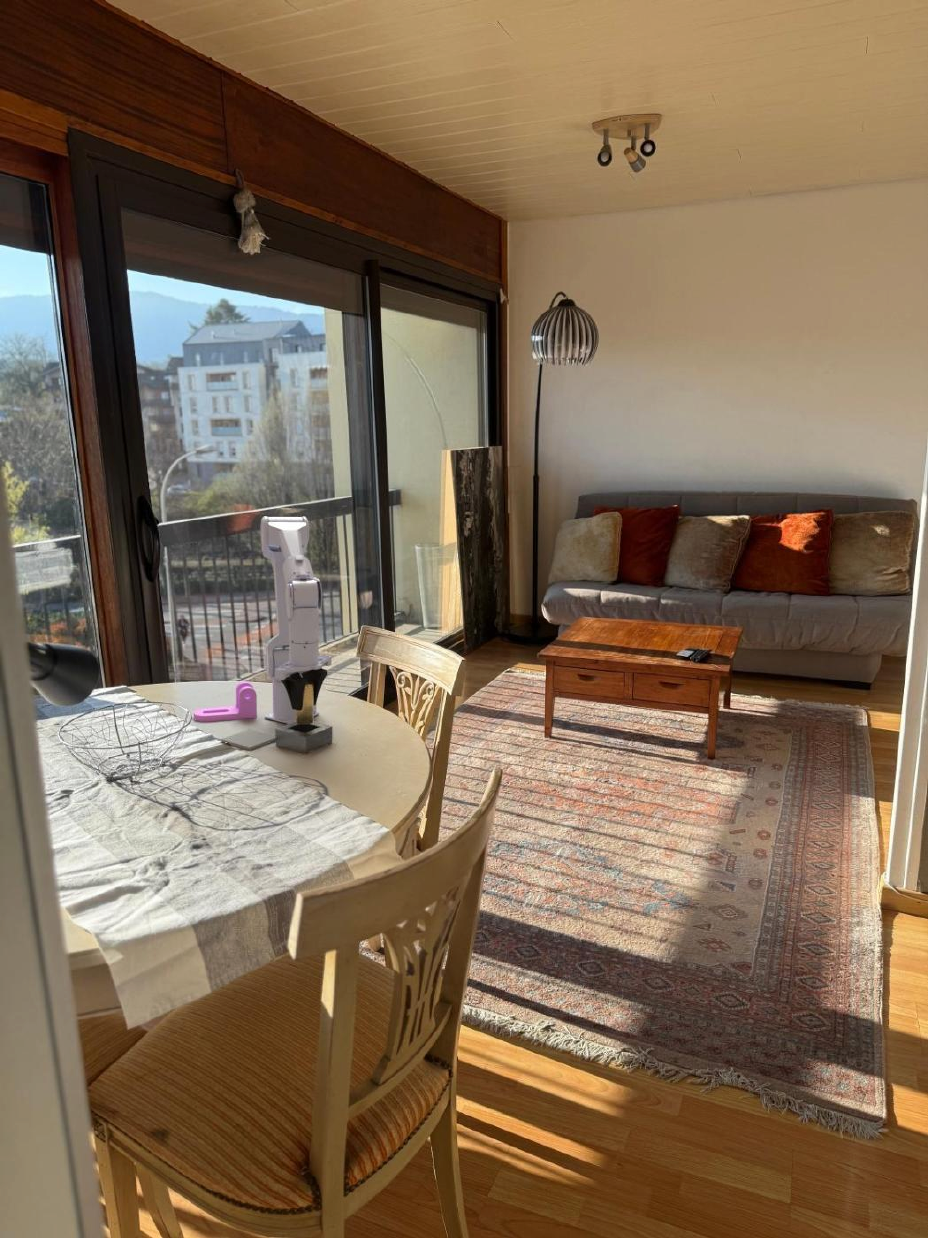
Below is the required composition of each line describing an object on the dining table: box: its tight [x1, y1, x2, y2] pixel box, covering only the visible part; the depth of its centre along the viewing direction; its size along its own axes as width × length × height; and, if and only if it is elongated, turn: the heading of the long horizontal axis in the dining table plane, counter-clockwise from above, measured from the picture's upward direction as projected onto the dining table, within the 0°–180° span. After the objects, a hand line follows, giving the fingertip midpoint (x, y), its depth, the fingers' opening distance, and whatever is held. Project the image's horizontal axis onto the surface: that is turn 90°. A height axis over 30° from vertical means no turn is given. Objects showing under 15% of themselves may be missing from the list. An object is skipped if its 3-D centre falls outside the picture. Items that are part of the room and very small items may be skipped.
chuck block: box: [274, 721, 333, 755], centre depth 175 cm, size 8×8×4 cm
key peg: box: [295, 681, 315, 725], centre depth 174 cm, size 4×4×8 cm
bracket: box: [193, 680, 258, 722], centre depth 190 cm, size 13×6×7 cm, turn 112°
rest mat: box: [220, 728, 275, 751], centre depth 176 cm, size 8×8×1 cm
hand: (303, 707), depth 174 cm, fingers closed on key peg, 4 cm apart
